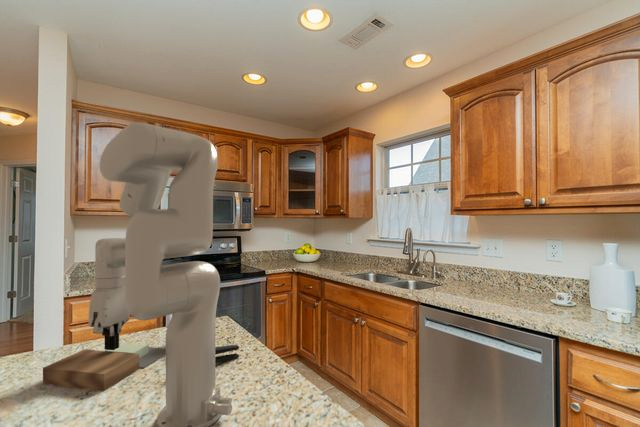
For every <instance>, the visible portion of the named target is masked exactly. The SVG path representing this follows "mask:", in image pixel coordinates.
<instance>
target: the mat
mask: <svg viewBox="0 0 640 427" xmlns="http://www.w3.org/2000/svg"><path fill="white" fill-rule="evenodd" d="M105 351H107V350H105ZM164 356H166V347H165V348H164V347H152V346H149V353H147V354H145V355H144V356H142V357H140V358H139V369H145V367H146V368H147V367H148V366H150V365H152V364H153V363H155V362H157V361H158V360H160V359H161V358H163V357H164Z"/></svg>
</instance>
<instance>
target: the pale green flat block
mask: <svg viewBox="0 0 640 427" xmlns="http://www.w3.org/2000/svg"><path fill="white" fill-rule="evenodd" d="M149 347H150V346H149V343H148V344H147V343H134V342H133V343H132V342H131V343H130V342H122V343H119V348H117V349H115V350H107V351H108V352H120V353H131V354H139V358H140V357H142V356H144V355H145V354H147V353H149Z"/></svg>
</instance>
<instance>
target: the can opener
mask: <svg viewBox="0 0 640 427" xmlns="http://www.w3.org/2000/svg"><path fill="white" fill-rule="evenodd" d="M239 349H240V346H239V345H237V344H232V345H231V344H230V345H222V346H215V364H223V363H227V362H230V361H233V360H236V359H238V358H239V357H240V355H239V353H229V354H224V353H228V352H233V351H236V350H239ZM220 354H223V355H220Z"/></svg>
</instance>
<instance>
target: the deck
mask: <svg viewBox="0 0 640 427" xmlns="http://www.w3.org/2000/svg"><path fill="white" fill-rule="evenodd" d="M138 369H139V370H140V368H139V354H131V353H120V352H108V351H106V350H97V349H95V350H94V349H82V350H79V351H77V352H75V353H73V354H71V355H68V356H66V357H64V358H61V359H60V360H57V361H55V362H53V363H50V364H49V365H46V366H44V367H42V385H48V386H56V387H66V388H74V389H75V388H76V389H82V390H83V389H84V390H90V391H99V392H105V391H107V390H109V389H110V388H112V387H113V386H115V385H117V384H118V383H119V382H121V381H123V380H124V379H126V378H127V377H129V376H131V375H133V374H134V373H136V372H137V371H139V370H138Z"/></svg>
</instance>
